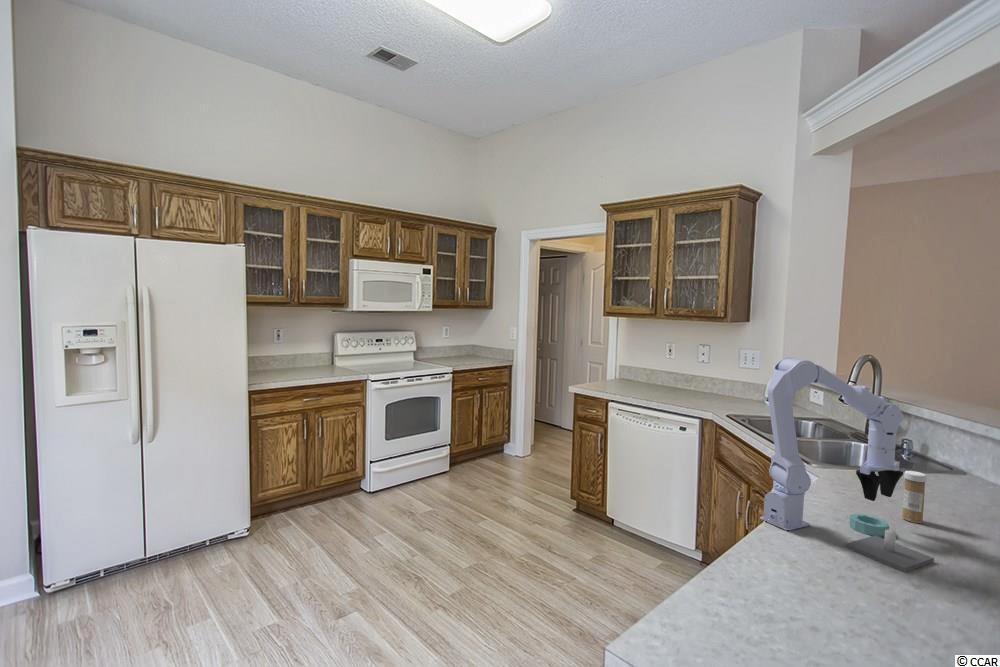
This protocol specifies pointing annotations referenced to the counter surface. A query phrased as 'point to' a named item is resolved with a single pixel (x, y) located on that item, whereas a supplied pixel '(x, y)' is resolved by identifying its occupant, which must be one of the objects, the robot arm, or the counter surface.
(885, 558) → the pin board
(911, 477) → the sprinkles bottle
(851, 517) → the ring
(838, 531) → the counter surface
